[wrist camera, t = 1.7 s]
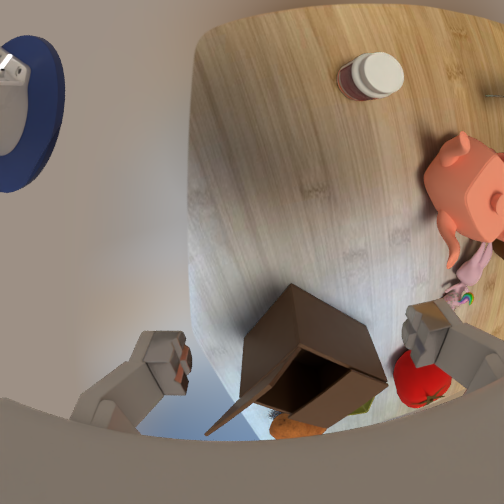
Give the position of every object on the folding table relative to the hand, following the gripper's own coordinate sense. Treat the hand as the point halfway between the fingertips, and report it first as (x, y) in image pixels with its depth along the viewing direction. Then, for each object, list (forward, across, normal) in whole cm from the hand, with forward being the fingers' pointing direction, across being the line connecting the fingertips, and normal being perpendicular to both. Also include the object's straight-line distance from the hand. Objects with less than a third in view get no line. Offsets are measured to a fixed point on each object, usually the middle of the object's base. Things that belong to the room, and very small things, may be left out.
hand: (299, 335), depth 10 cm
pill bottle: (+25, -11, -11) cm, 30 cm away
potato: (+25, -2, +48) cm, 54 cm away
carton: (+25, -4, +24) cm, 34 cm away
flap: (+10, +4, +18) cm, 20 cm away
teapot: (+25, -24, +2) cm, 35 cm away
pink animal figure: (+25, -30, +16) cm, 42 cm away
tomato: (+25, -24, +34) cm, 49 cm away
